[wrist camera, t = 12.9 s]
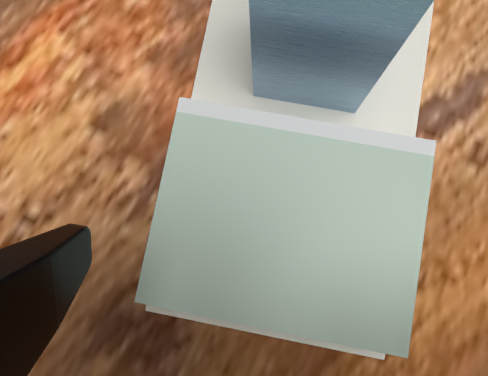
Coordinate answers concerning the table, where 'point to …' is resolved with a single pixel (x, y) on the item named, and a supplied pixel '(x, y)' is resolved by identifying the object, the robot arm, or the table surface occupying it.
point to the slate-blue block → (326, 47)
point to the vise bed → (303, 106)
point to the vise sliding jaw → (290, 226)
